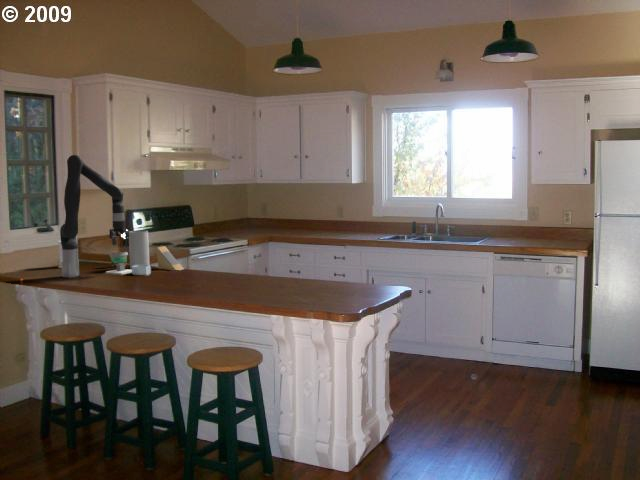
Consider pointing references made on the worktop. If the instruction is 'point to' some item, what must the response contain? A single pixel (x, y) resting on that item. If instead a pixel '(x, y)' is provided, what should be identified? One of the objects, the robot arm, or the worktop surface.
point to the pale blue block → (141, 270)
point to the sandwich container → (167, 260)
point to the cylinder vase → (138, 248)
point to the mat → (116, 274)
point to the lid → (120, 269)
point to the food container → (118, 258)
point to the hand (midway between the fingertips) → (119, 245)
